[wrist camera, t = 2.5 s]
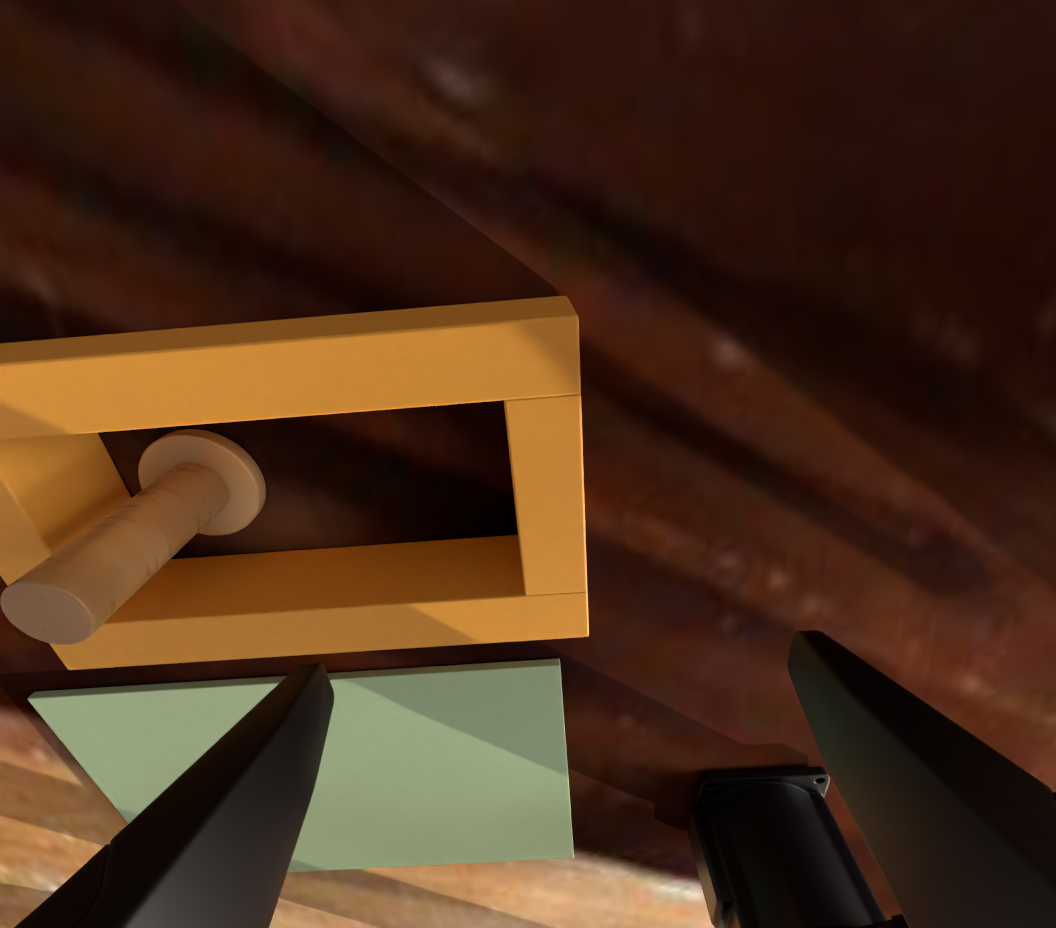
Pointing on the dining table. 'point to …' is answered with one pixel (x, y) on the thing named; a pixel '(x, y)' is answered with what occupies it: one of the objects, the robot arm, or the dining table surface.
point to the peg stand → (138, 535)
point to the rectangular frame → (291, 391)
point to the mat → (362, 759)
